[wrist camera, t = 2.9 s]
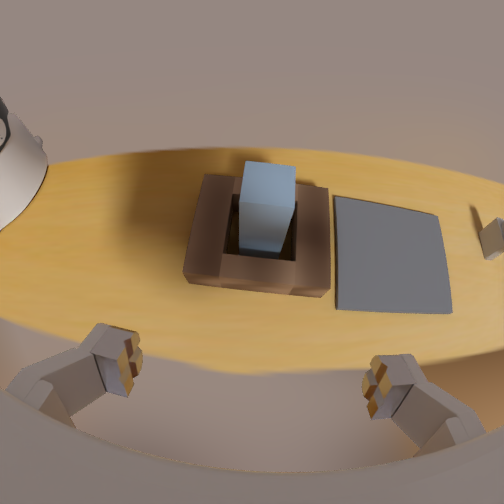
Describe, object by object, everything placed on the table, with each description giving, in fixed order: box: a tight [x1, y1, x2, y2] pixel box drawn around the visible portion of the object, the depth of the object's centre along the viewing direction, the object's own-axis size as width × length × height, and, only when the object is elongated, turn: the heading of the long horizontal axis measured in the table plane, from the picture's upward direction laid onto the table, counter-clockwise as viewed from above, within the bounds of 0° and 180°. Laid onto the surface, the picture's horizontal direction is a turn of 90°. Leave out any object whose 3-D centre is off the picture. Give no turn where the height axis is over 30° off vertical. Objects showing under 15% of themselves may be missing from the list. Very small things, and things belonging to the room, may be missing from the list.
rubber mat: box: [334, 196, 453, 314], centre depth 27 cm, size 14×12×1 cm
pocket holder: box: [183, 174, 331, 298], centre depth 26 cm, size 12×10×3 cm
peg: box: [239, 161, 296, 260], centre depth 23 cm, size 4×4×9 cm
